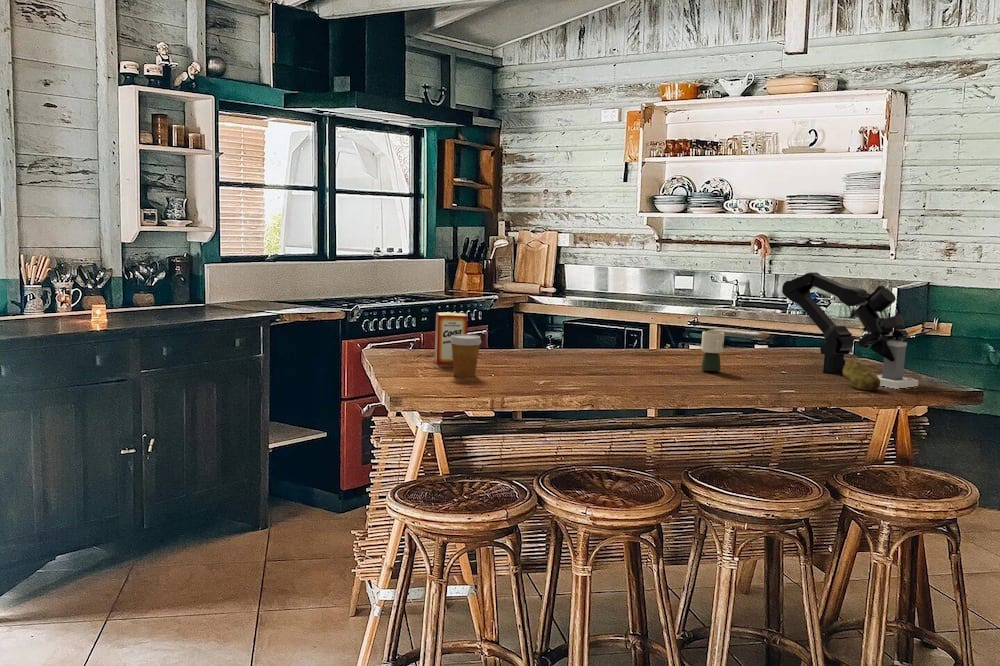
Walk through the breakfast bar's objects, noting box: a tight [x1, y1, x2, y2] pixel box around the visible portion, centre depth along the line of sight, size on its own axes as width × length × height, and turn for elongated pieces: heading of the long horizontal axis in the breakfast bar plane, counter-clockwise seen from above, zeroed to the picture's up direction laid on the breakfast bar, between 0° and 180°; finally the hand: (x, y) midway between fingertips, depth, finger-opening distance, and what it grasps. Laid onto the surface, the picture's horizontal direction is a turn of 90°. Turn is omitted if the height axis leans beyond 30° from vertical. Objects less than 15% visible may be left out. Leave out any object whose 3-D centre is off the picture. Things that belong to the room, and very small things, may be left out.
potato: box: [842, 360, 881, 392], centre depth 305 cm, size 8×13×8 cm, turn 7°
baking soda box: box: [434, 311, 469, 365], centre depth 318 cm, size 10×6×16 cm
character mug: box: [700, 330, 725, 373], centre depth 322 cm, size 11×7×13 cm, turn 7°
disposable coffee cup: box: [450, 333, 482, 378], centre depth 297 cm, size 10×10×12 cm
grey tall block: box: [881, 340, 908, 381], centre depth 311 cm, size 5×5×12 cm
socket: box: [876, 374, 919, 390], centre depth 312 cm, size 11×11×3 cm
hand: (898, 360), depth 310 cm, fingers closed on grey tall block, 4 cm apart
